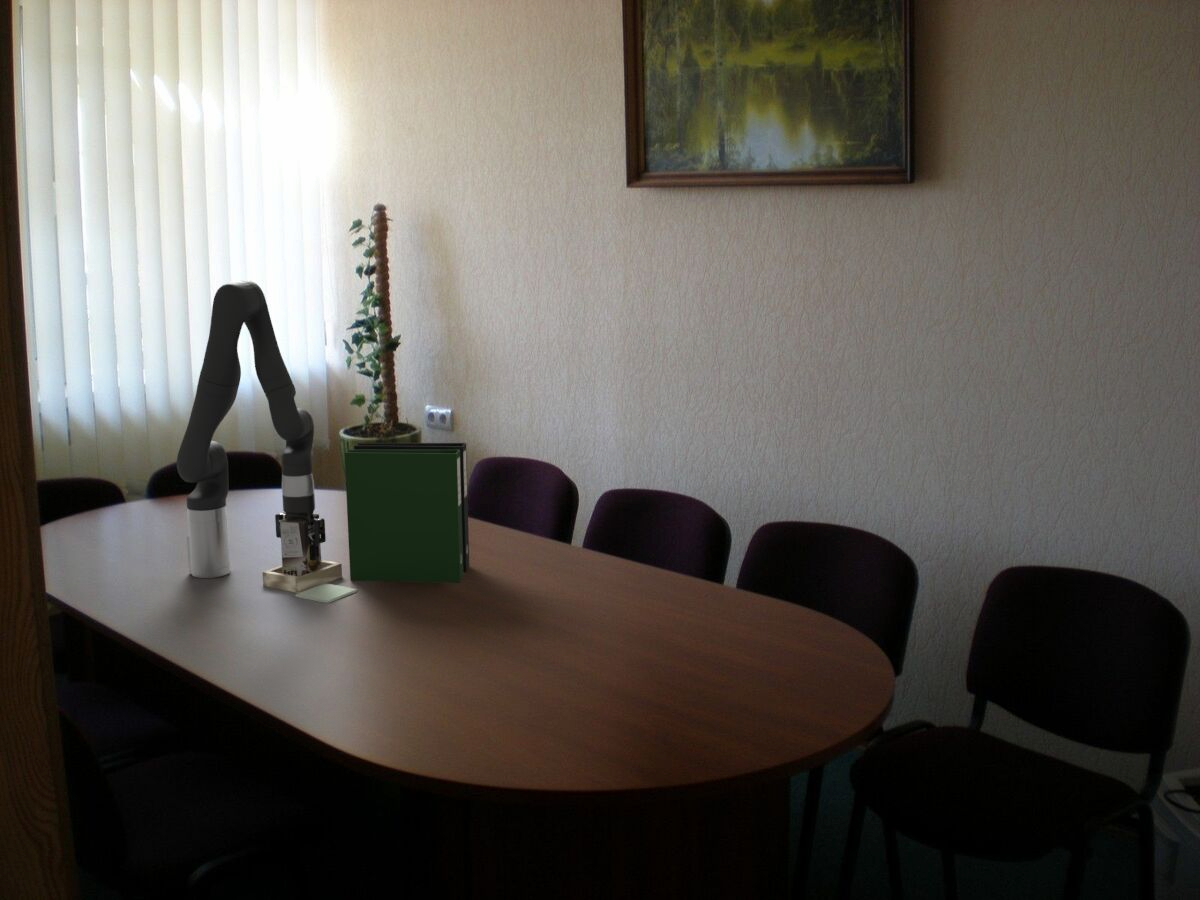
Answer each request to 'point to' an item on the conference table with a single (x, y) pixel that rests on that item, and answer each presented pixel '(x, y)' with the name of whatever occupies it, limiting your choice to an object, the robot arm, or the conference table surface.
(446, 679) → the conference table surface
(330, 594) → the mat
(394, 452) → the binder
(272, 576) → the pocket frame
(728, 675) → the conference table surface
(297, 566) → the coffee box
